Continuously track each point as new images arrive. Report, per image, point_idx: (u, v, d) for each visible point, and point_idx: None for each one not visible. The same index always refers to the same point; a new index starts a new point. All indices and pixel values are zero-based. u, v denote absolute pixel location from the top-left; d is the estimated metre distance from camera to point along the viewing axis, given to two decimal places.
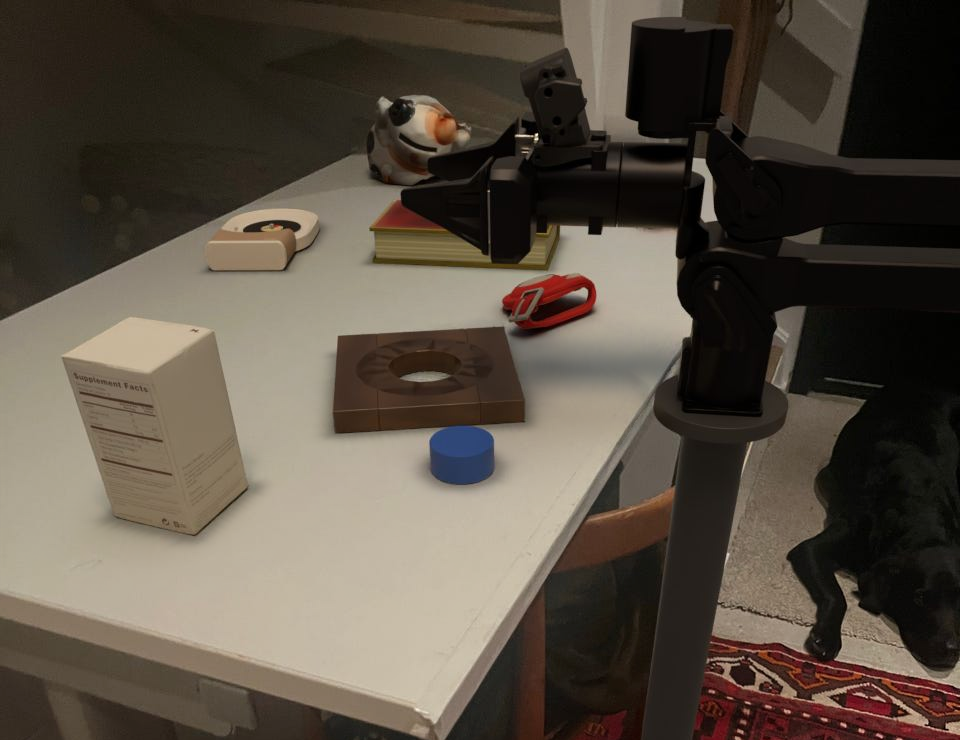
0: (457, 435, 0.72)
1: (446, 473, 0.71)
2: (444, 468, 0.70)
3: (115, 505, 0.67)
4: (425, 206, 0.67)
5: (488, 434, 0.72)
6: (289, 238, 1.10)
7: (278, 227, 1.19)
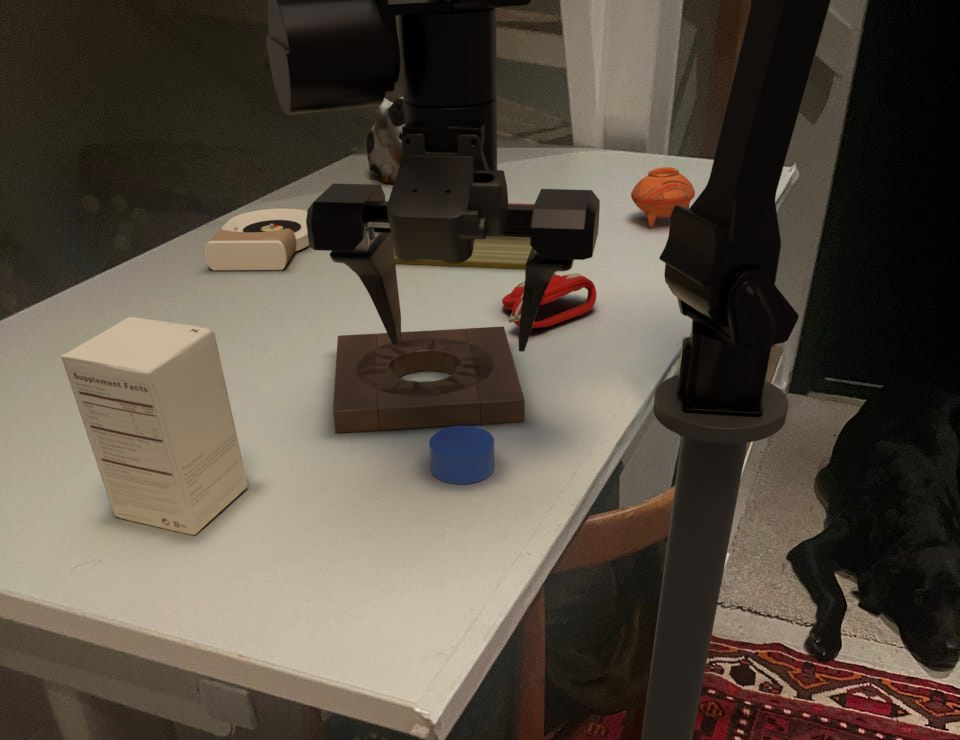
0: (457, 435, 0.72)
1: (446, 473, 0.71)
2: (444, 468, 0.70)
3: (115, 505, 0.67)
4: None
5: (488, 434, 0.72)
6: (289, 238, 1.10)
7: (278, 227, 1.19)
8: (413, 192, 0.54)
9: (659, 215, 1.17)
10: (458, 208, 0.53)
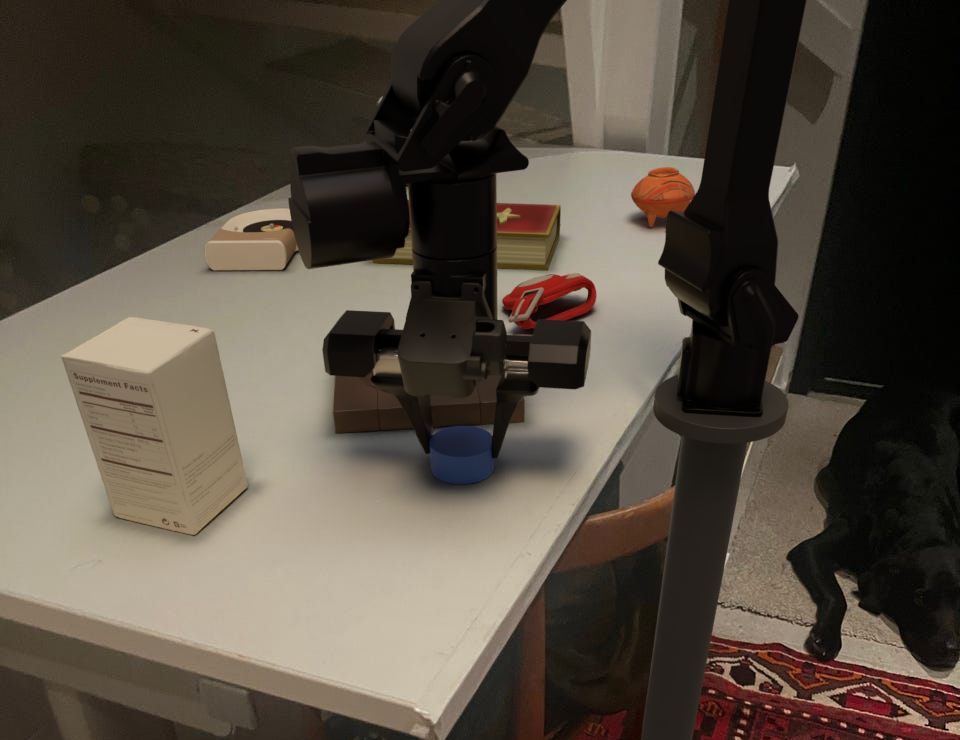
0: (457, 435, 0.72)
1: (446, 473, 0.71)
2: (444, 468, 0.70)
3: (115, 505, 0.67)
4: None
5: (488, 434, 0.72)
6: (289, 237, 1.10)
7: (278, 227, 1.19)
8: (421, 337, 0.60)
9: (659, 215, 1.17)
10: (462, 354, 0.59)
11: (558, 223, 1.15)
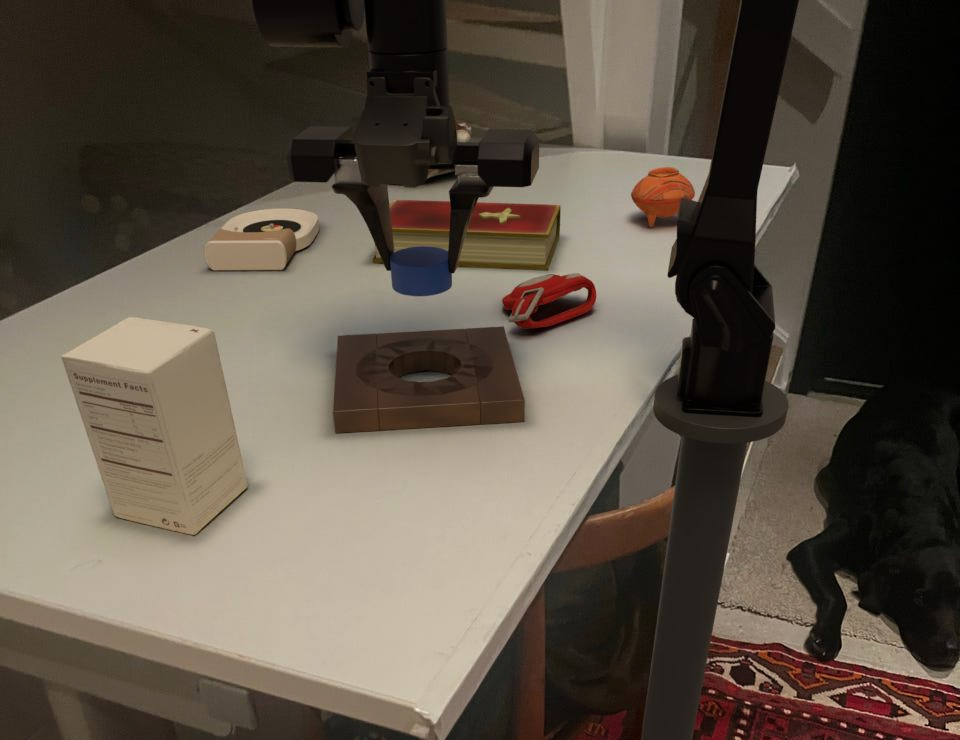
0: (416, 252, 0.76)
1: (405, 285, 0.75)
2: (403, 280, 0.75)
3: (115, 505, 0.67)
4: (461, 245, 0.75)
5: (446, 251, 0.76)
6: (289, 238, 1.10)
7: (278, 227, 1.19)
8: (375, 125, 0.64)
9: (659, 215, 1.17)
10: (413, 138, 0.63)
11: (558, 223, 1.15)
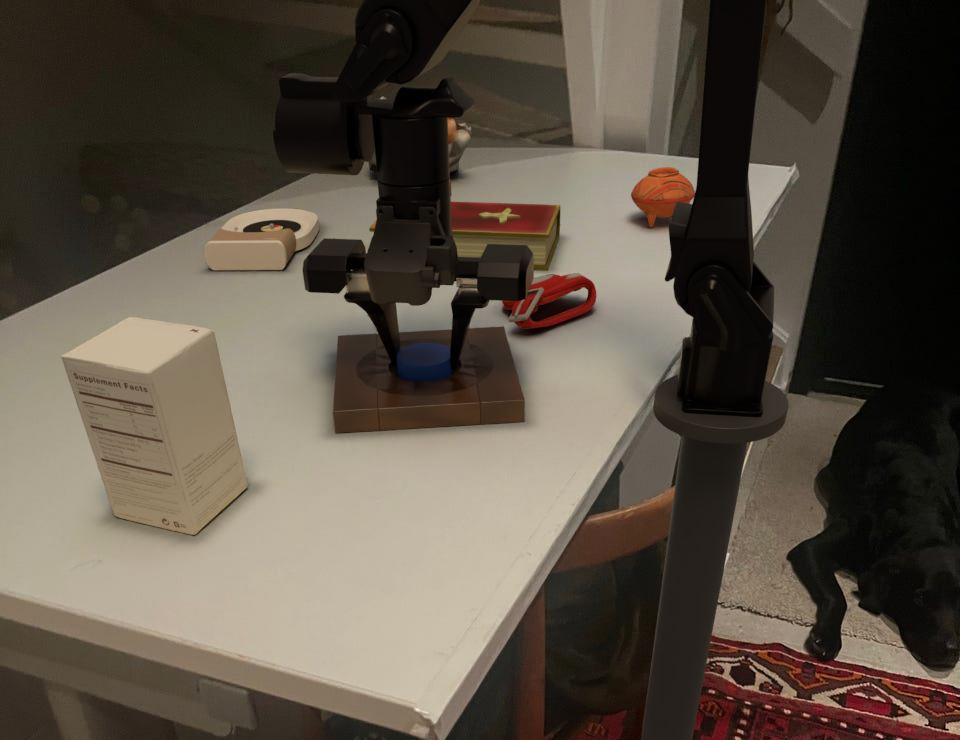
0: (421, 350, 0.83)
1: None
2: (409, 377, 0.81)
3: (115, 505, 0.67)
4: (462, 345, 0.81)
5: (448, 349, 0.83)
6: (289, 238, 1.10)
7: (278, 227, 1.19)
8: (384, 251, 0.70)
9: (659, 215, 1.17)
10: (418, 265, 0.69)
11: (558, 223, 1.15)
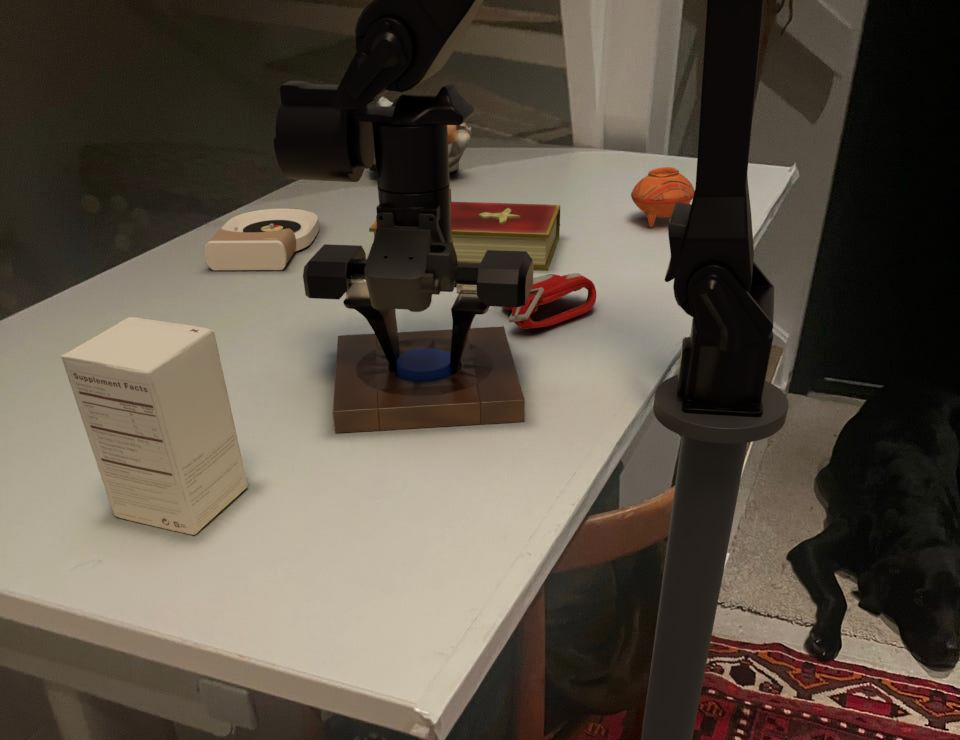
0: (421, 355, 0.83)
1: None
2: None
3: (115, 505, 0.67)
4: (462, 350, 0.82)
5: (447, 354, 0.83)
6: (289, 238, 1.10)
7: (278, 227, 1.19)
8: (384, 258, 0.71)
9: (659, 215, 1.17)
10: (418, 271, 0.70)
11: (558, 223, 1.14)
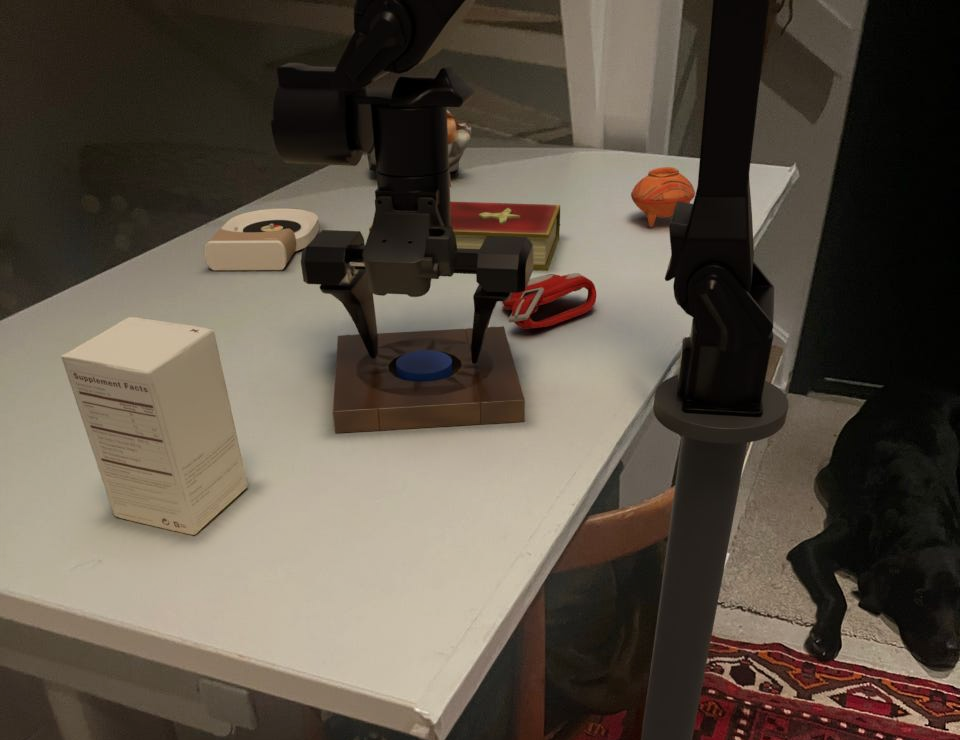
0: (420, 357, 0.83)
1: None
2: None
3: (115, 505, 0.67)
4: (483, 338, 0.81)
5: (447, 356, 0.83)
6: (289, 238, 1.10)
7: (278, 227, 1.19)
8: (383, 242, 0.70)
9: (659, 215, 1.17)
10: (417, 255, 0.69)
11: (558, 223, 1.14)
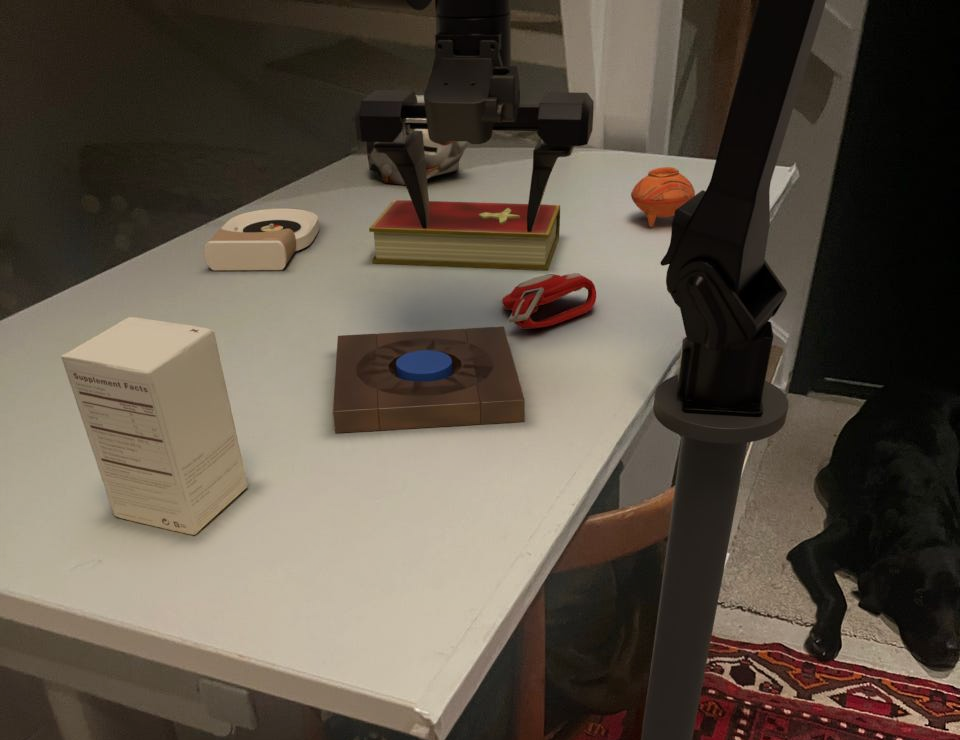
0: (420, 357, 0.83)
1: None
2: None
3: (115, 505, 0.67)
4: (539, 205, 0.79)
5: (447, 356, 0.83)
6: (288, 238, 1.10)
7: (278, 227, 1.19)
8: (444, 85, 0.68)
9: (659, 215, 1.17)
10: (481, 96, 0.67)
11: (558, 223, 1.14)
